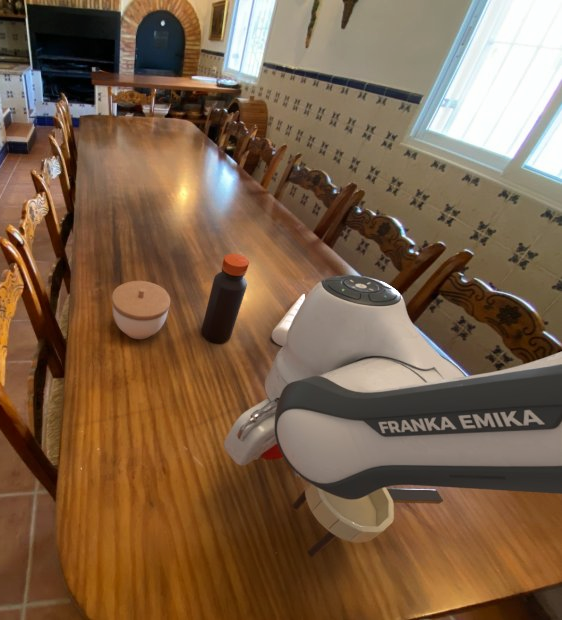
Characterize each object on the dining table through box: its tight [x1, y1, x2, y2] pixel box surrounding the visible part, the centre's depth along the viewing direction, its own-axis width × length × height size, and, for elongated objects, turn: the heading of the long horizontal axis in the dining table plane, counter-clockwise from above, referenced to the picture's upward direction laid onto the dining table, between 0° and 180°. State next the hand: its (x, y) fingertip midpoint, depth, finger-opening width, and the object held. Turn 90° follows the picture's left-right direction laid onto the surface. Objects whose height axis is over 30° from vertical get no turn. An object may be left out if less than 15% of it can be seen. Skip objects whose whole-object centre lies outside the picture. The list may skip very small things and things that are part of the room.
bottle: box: [201, 253, 250, 344], centre depth 76 cm, size 7×7×20 cm
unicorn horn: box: [271, 293, 306, 347], centre depth 87 cm, size 5×24×5 cm, turn 143°
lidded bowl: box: [111, 280, 171, 340], centre depth 79 cm, size 13×13×11 cm
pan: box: [292, 480, 444, 558], centre depth 48 cm, size 16×9×12 cm, turn 91°
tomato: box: [260, 444, 284, 461], centre depth 54 cm, size 5×5×6 cm
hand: (270, 443), depth 54 cm, fingers closed on tomato, 5 cm apart
